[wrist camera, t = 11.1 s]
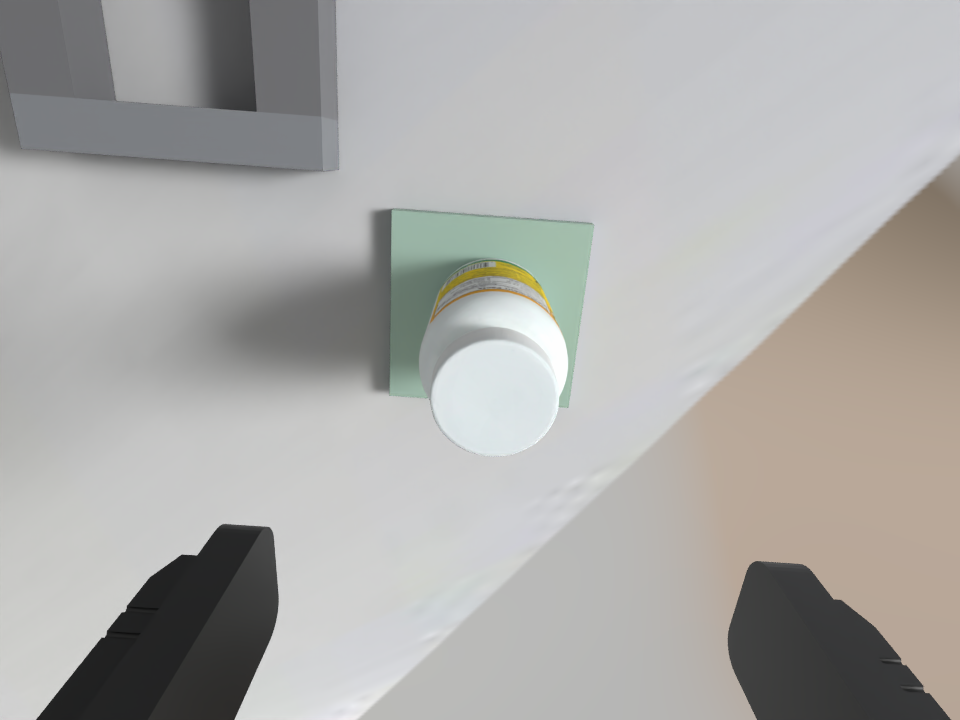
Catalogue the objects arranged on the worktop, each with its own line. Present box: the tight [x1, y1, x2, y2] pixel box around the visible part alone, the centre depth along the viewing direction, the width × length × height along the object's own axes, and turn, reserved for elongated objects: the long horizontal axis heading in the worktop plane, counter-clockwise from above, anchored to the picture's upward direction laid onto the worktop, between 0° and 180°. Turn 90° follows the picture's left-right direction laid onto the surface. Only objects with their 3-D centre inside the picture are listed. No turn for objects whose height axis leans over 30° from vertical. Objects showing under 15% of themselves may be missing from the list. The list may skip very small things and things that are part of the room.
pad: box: [389, 209, 594, 408], centre depth 26 cm, size 9×9×1 cm
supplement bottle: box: [419, 258, 568, 456], centre depth 21 cm, size 5×5×10 cm
